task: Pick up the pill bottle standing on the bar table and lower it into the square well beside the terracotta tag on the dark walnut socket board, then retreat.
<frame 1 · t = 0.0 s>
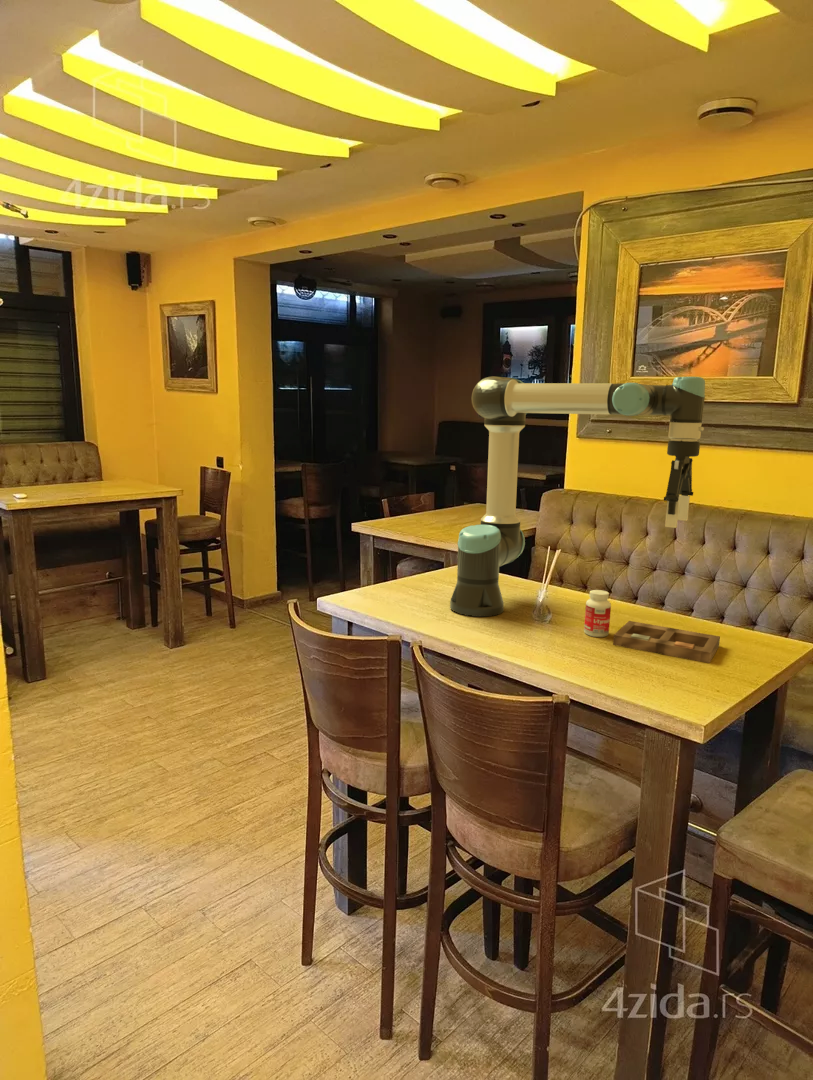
hand: (676, 523, 180), 28 cm above the table, fingers open, 13 cm apart
socket board: (666, 645, 171), on the table
pill bottle: (596, 634, 179), on the table
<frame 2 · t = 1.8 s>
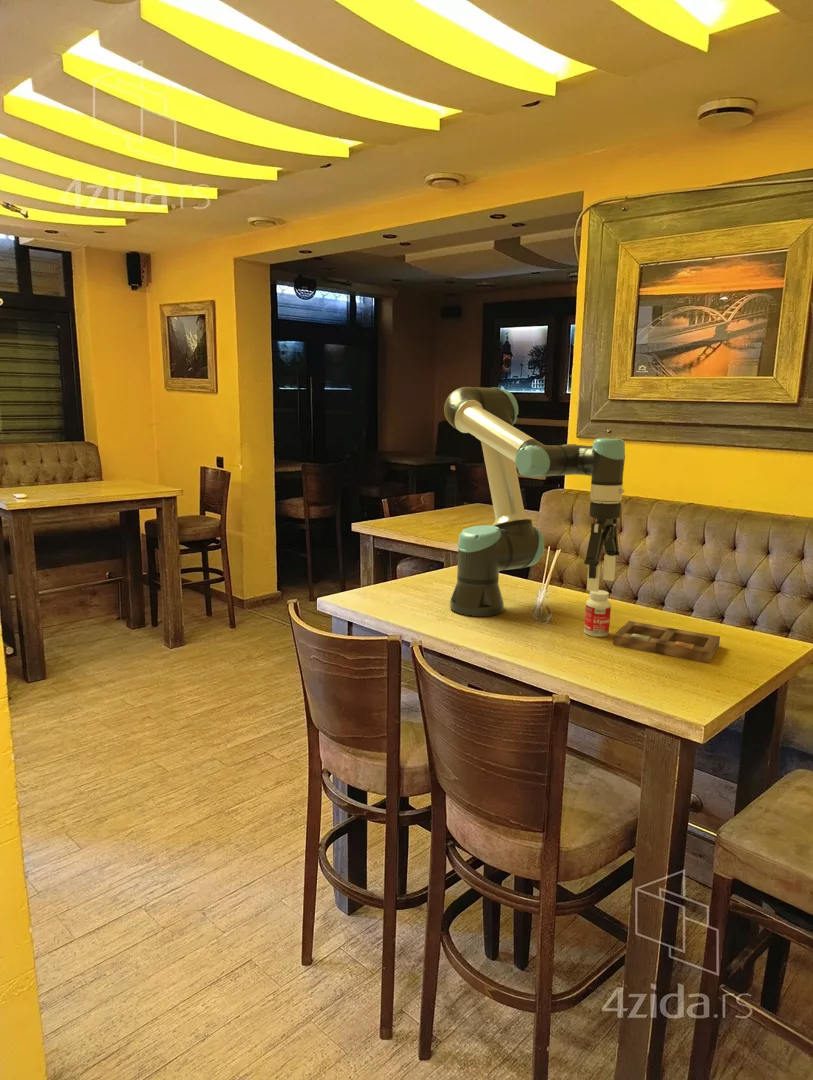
hand: (600, 585, 177), 13 cm above the table, fingers open, 13 cm apart
nothing on the table moved.
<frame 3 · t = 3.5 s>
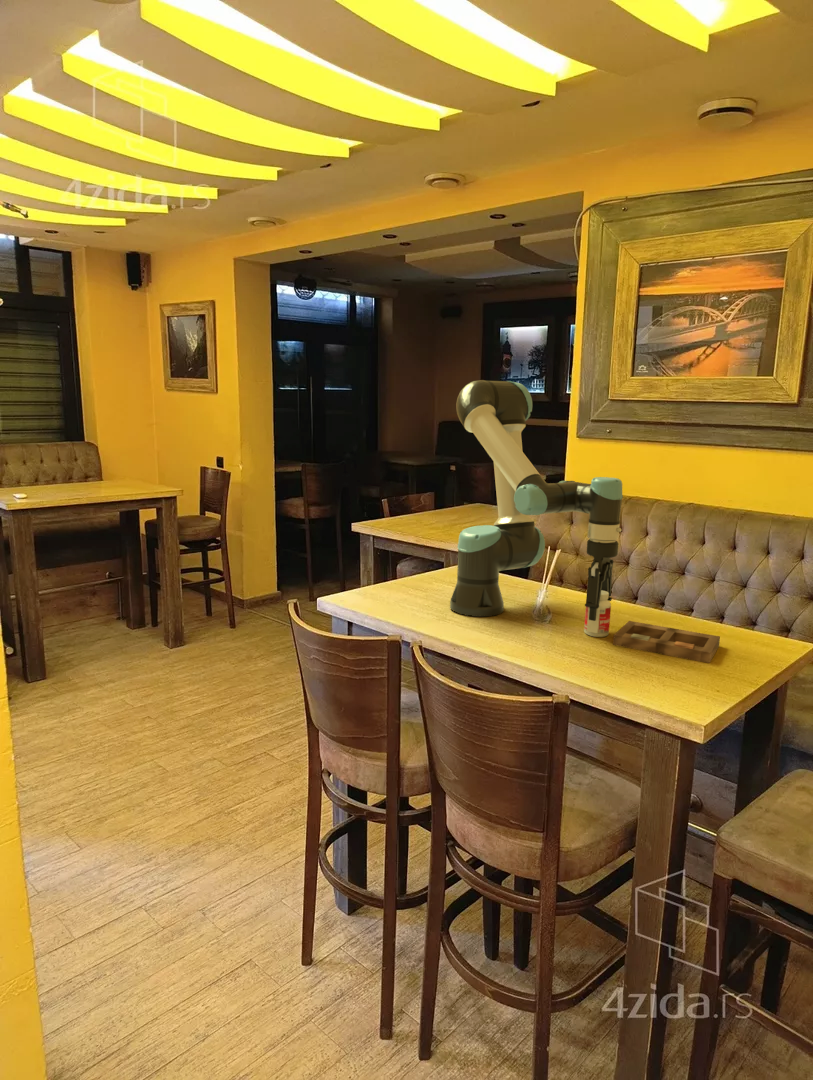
hand: (596, 628, 179), 1 cm above the table, fingers closed on pill bottle, 6 cm apart
pill bottle: (596, 634, 179), on the table, touching gripper
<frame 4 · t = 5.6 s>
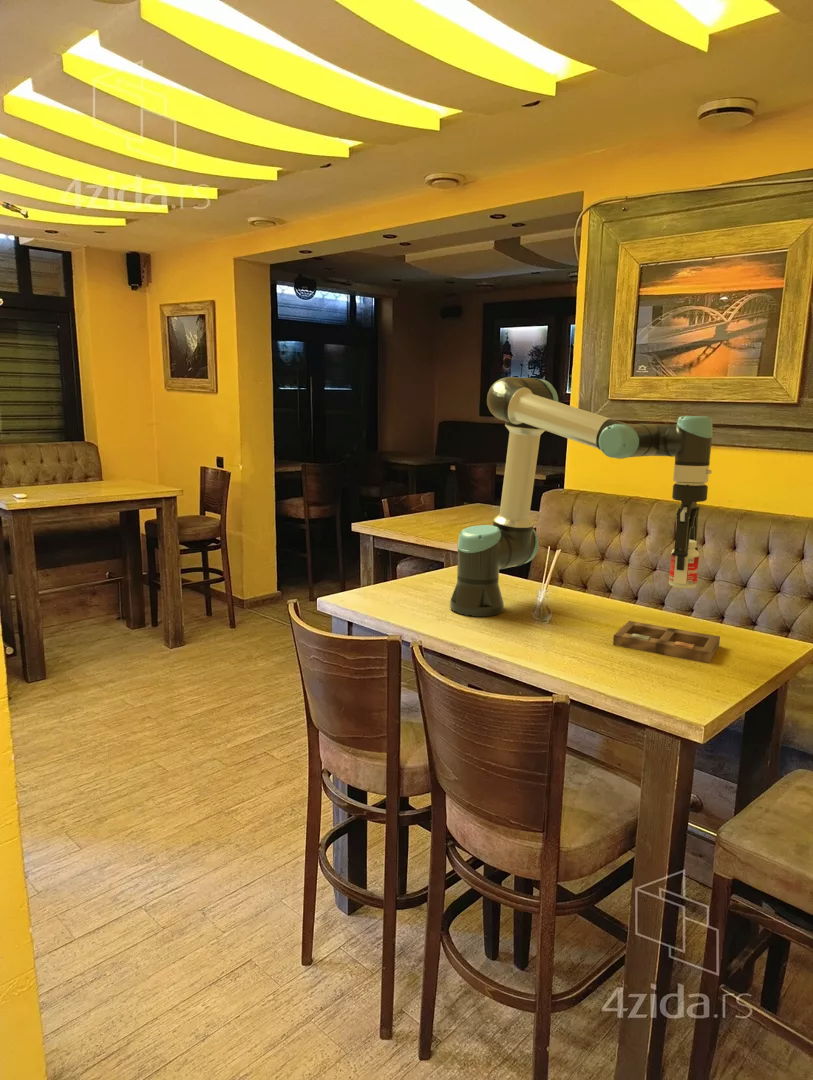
hand: (682, 580, 167), 17 cm above the table, fingers closed on pill bottle, 6 cm apart
pill bottle: (682, 586, 167), point 15 cm above the table, touching gripper
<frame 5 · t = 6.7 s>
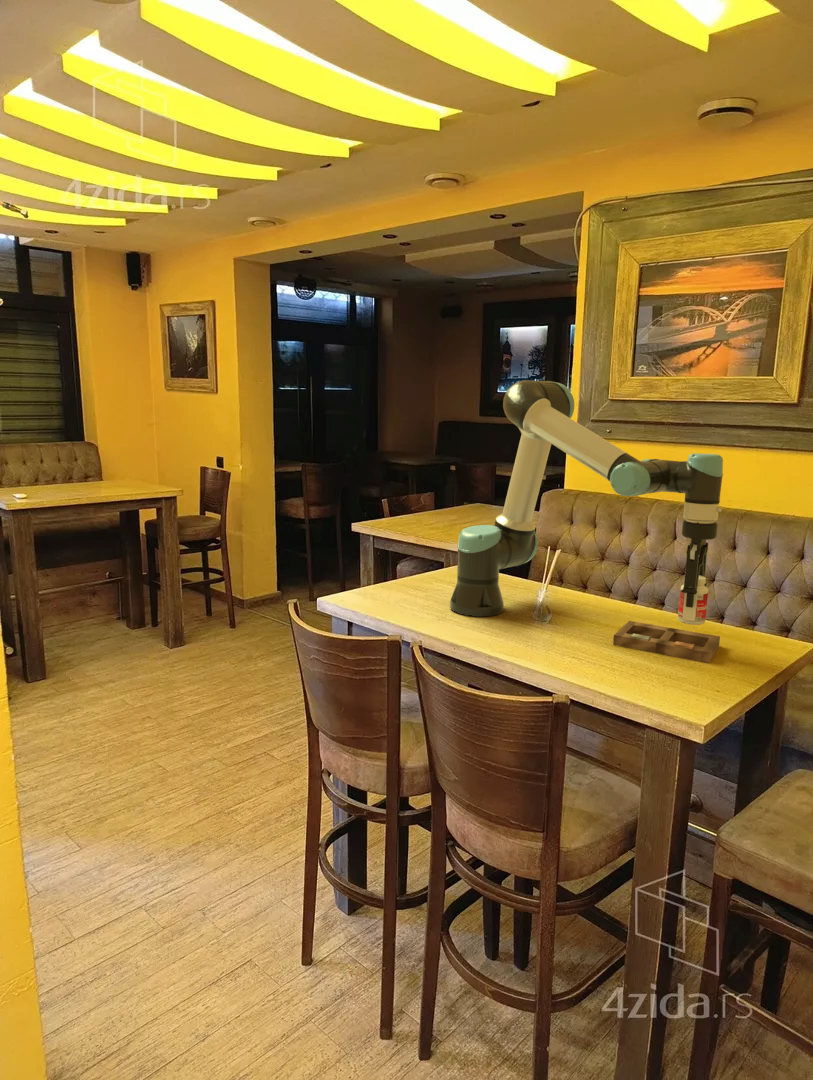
hand: (691, 616, 167), 8 cm above the table, fingers closed on pill bottle, 6 cm apart
pill bottle: (691, 622, 167), point 7 cm above the table, touching gripper
when the fingers open (4 cm above the table, at t = 7.8 s): pill bottle drops 3 cm, resting in socket board.
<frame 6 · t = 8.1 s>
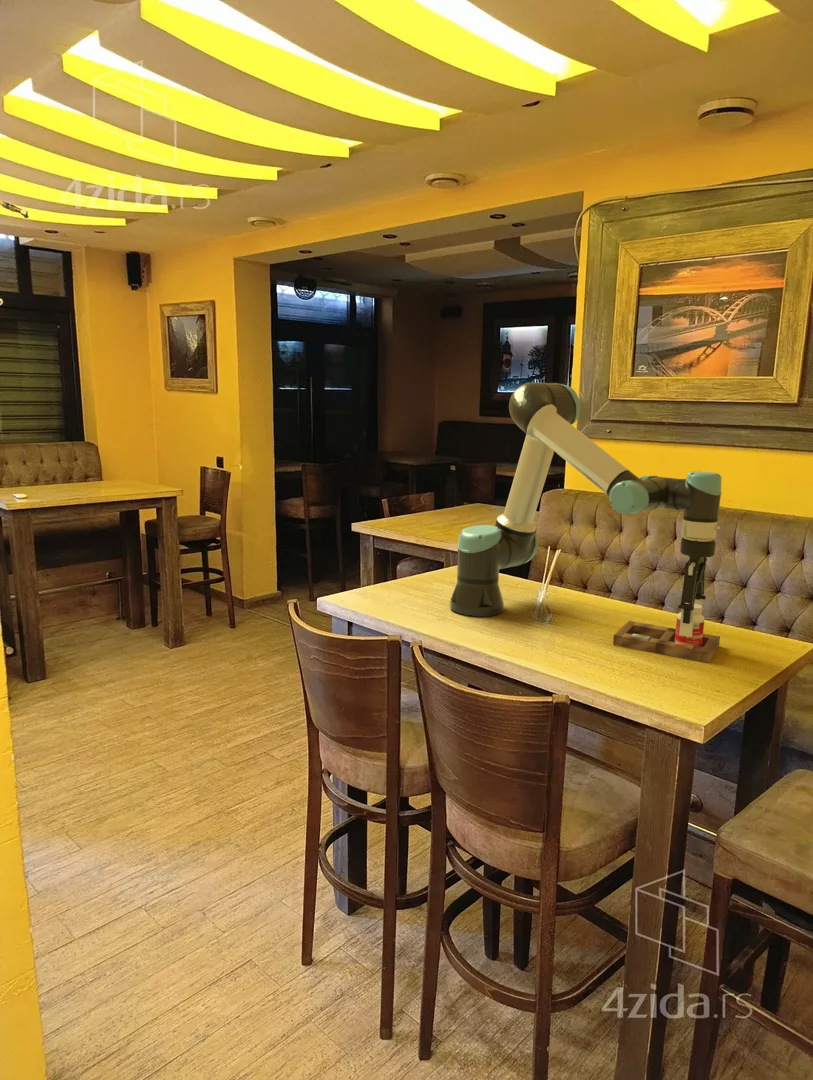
hand: (689, 630, 168), 5 cm above the table, fingers open, 9 cm apart
pill bottle: (687, 650, 169), resting in socket board
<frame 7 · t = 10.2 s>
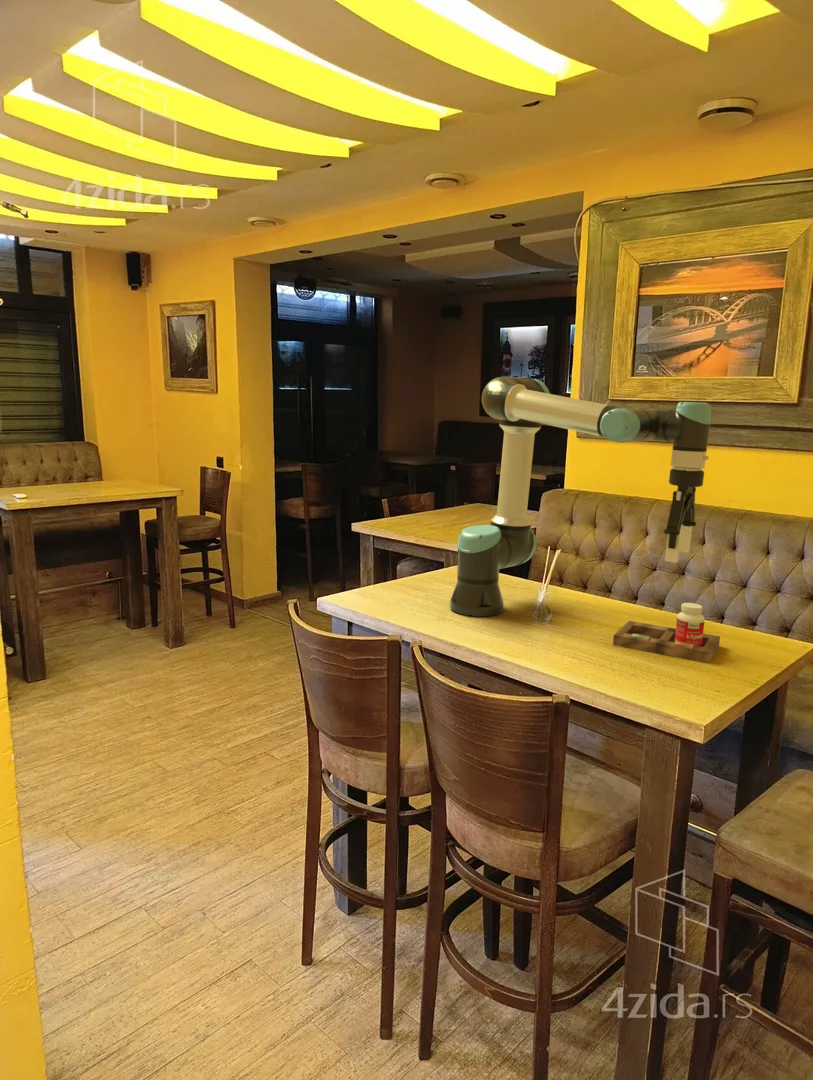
hand: (677, 556, 169), 22 cm above the table, fingers open, 13 cm apart
nothing on the table moved.
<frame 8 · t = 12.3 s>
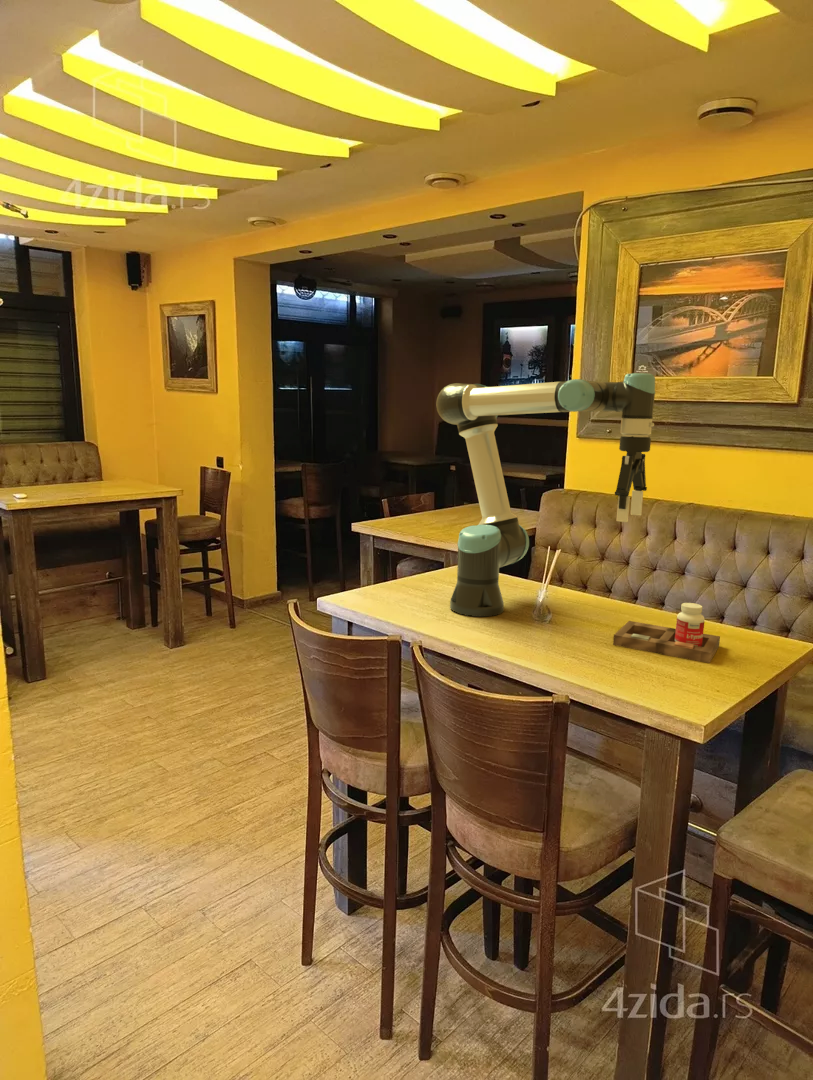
hand: (629, 518, 182), 29 cm above the table, fingers open, 13 cm apart
nothing on the table moved.
at the end: pill bottle 0.1 cm from the target spot on the socket board, point 0.0 cm above the socket board's base; pill bottle tilted 0°; the gripper is holding nothing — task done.
